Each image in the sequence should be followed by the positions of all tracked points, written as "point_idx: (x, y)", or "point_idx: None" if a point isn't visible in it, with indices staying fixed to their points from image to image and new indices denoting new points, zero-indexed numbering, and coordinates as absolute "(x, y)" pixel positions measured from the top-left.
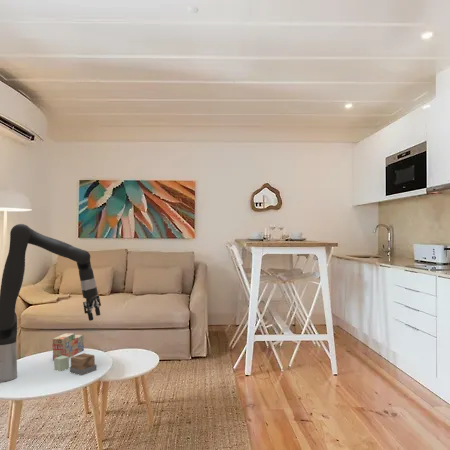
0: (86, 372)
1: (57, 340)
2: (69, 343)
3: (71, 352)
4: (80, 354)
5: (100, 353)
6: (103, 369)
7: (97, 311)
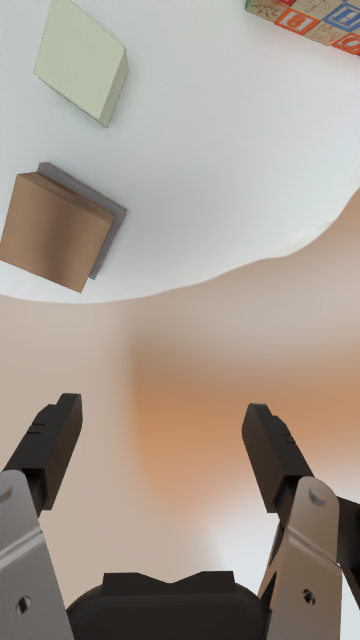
0: None
1: None
2: None
3: (336, 33)
4: (85, 214)
5: (318, 210)
6: (105, 294)
7: (260, 458)
